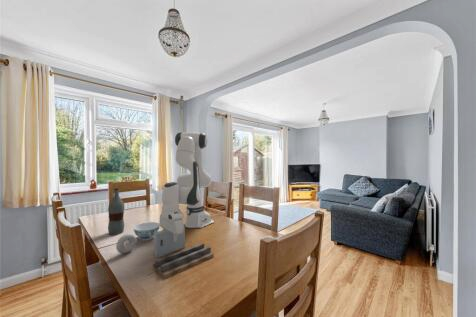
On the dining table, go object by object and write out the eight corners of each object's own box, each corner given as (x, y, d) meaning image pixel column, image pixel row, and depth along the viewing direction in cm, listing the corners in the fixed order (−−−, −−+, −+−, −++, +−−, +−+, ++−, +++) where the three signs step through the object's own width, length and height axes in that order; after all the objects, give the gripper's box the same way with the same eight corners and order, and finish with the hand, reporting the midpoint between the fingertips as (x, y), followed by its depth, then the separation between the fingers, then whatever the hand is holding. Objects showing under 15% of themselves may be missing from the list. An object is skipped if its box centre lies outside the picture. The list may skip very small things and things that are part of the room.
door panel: (182, 246, 112) (182, 225, 112) (185, 247, 110) (185, 226, 110) (154, 256, 101) (154, 232, 101) (157, 258, 99) (157, 234, 99)
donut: (117, 257, 99) (117, 237, 99) (115, 255, 101) (115, 236, 101) (137, 250, 107) (137, 232, 107) (134, 248, 109) (135, 230, 109)
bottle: (123, 229, 138) (124, 187, 139) (124, 233, 131) (124, 188, 131) (108, 232, 133) (108, 188, 133) (107, 236, 126) (108, 189, 126)
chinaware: (149, 244, 114) (149, 231, 114) (127, 242, 117) (127, 229, 117) (164, 234, 129) (164, 223, 129) (144, 232, 132) (144, 221, 132)
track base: (200, 248, 109) (200, 241, 109) (213, 256, 100) (213, 248, 101) (152, 267, 90) (152, 258, 90) (164, 278, 82) (164, 269, 82)
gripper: (156, 210, 111) (156, 235, 110) (174, 217, 96) (174, 246, 96) (167, 208, 115) (167, 232, 115) (185, 215, 101) (185, 242, 101)
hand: (170, 238), depth 105 cm, fingers open, 8 cm apart
